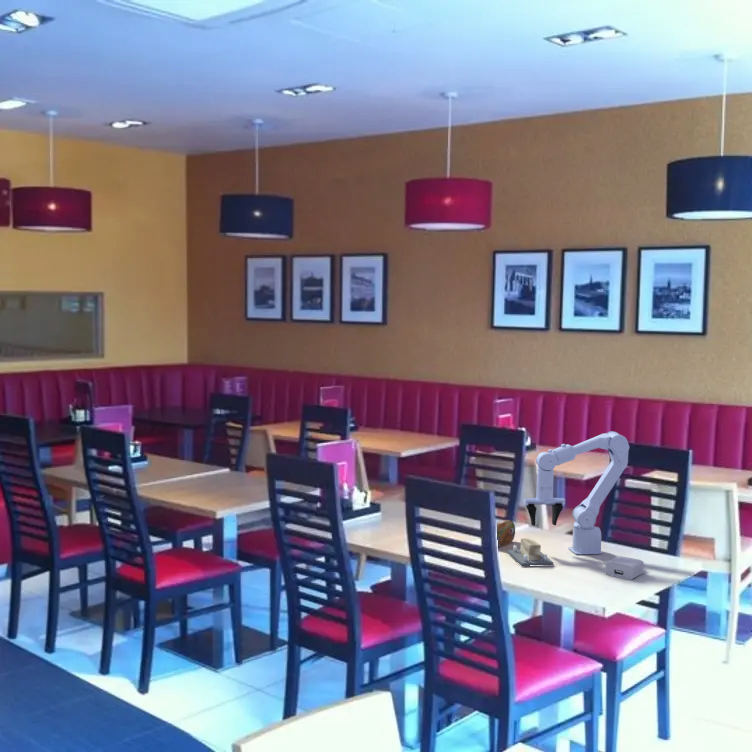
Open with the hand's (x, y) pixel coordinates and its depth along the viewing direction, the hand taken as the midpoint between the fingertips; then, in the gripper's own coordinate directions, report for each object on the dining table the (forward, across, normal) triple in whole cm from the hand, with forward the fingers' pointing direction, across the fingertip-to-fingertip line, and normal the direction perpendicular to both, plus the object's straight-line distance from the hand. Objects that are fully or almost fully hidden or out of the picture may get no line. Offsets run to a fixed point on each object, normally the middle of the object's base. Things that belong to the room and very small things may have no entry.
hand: (543, 524), depth 326 cm
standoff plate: (+9, -8, -10) cm, 16 cm away
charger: (+10, +20, -27) cm, 35 cm away
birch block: (+8, -8, -10) cm, 15 cm away
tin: (+10, -12, +10) cm, 18 cm away
